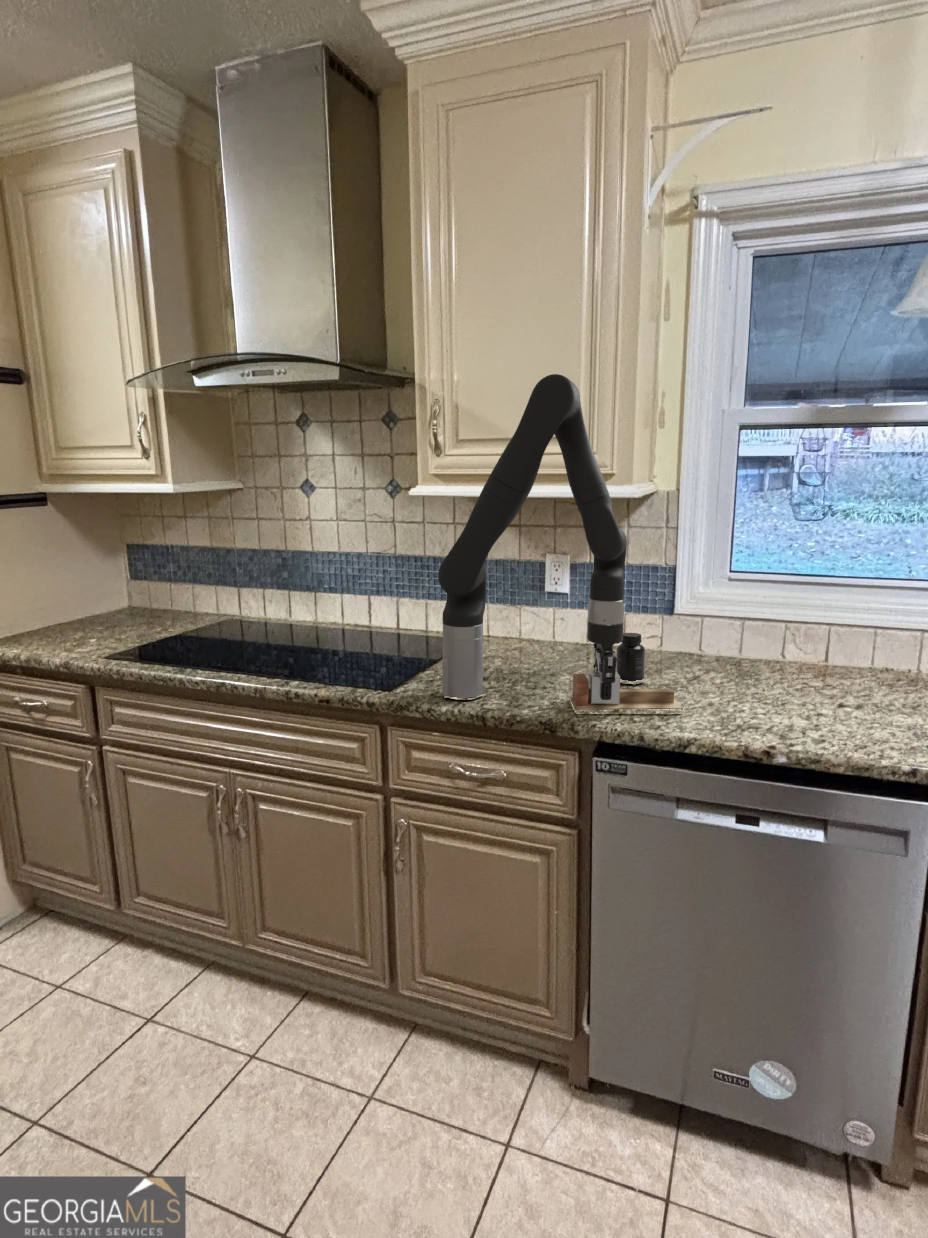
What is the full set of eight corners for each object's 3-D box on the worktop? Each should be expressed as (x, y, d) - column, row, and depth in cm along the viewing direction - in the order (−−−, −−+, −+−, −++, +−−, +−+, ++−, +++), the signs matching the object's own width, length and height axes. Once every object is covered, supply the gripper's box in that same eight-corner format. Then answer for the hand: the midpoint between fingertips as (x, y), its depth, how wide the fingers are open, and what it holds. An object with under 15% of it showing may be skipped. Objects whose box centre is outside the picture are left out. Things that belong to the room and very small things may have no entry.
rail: (574, 714, 155) (575, 683, 154) (569, 701, 164) (569, 671, 163) (682, 714, 155) (684, 683, 154) (671, 701, 164) (672, 671, 162)
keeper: (591, 703, 156) (592, 676, 155) (587, 695, 162) (588, 669, 161) (619, 703, 156) (620, 676, 155) (614, 695, 162) (615, 669, 161)
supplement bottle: (639, 677, 183) (641, 631, 180) (647, 685, 176) (649, 637, 173) (612, 678, 182) (614, 631, 180) (619, 686, 176) (621, 637, 173)
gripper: (583, 613, 163) (581, 685, 166) (593, 626, 149) (591, 705, 152) (616, 613, 163) (613, 685, 166) (630, 626, 149) (627, 705, 152)
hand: (603, 694), depth 159 cm, fingers closed on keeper, 5 cm apart
